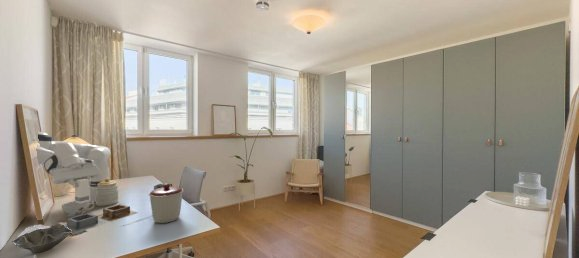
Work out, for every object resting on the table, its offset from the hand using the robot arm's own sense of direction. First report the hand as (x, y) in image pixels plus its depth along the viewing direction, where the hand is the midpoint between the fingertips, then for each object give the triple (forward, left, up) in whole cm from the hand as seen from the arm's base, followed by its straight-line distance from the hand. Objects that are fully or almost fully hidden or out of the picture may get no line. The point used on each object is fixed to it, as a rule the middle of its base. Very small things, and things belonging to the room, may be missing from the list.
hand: (82, 185), depth 129 cm
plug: (-1, 0, -9) cm, 9 cm away
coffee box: (+14, +37, -23) cm, 46 cm away
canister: (+32, +26, -23) cm, 47 cm away
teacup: (-22, +7, -23) cm, 32 cm away
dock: (-1, 0, -22) cm, 22 cm away
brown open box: (-1, +17, -22) cm, 28 cm away
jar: (-33, +28, -23) cm, 49 cm away
